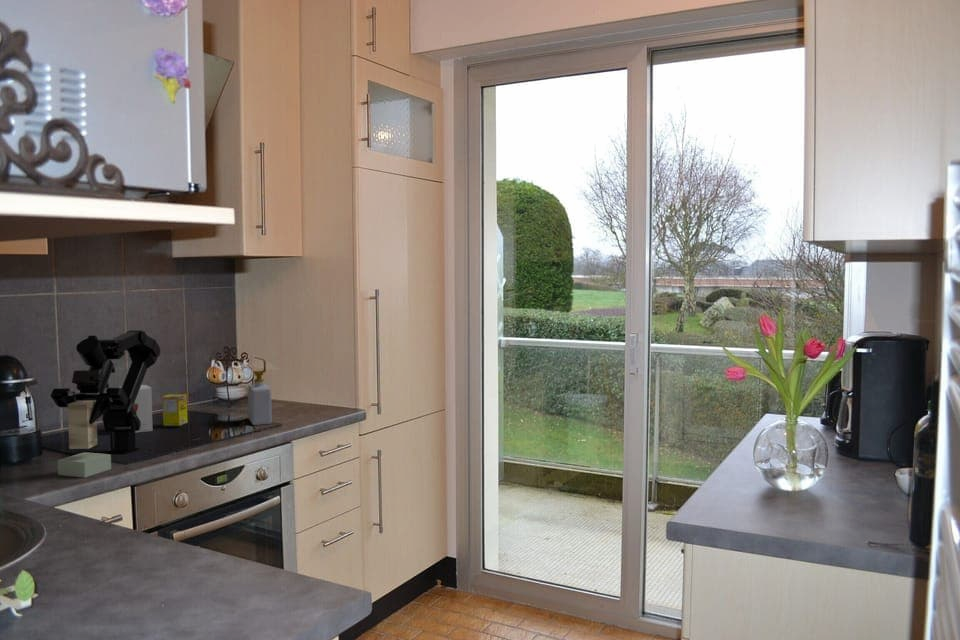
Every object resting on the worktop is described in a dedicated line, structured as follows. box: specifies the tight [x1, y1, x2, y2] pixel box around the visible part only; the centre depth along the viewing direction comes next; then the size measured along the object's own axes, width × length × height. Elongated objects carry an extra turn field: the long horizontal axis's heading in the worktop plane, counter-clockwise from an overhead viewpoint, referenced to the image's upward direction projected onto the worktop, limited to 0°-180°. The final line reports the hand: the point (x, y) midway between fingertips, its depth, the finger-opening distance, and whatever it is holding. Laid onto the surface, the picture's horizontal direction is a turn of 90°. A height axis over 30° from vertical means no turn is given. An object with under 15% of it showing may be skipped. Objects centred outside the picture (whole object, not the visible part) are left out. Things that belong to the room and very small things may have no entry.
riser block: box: [57, 451, 112, 478], centre depth 204 cm, size 9×9×4 cm
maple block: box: [67, 400, 98, 450], centre depth 203 cm, size 5×5×12 cm
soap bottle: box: [247, 356, 273, 426], centre depth 270 cm, size 12×7×23 cm, turn 24°
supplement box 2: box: [117, 384, 153, 434], centre depth 256 cm, size 9×9×15 cm
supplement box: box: [162, 393, 189, 429], centre depth 263 cm, size 6×6×11 cm
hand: (80, 423), depth 201 cm, fingers closed on maple block, 5 cm apart
